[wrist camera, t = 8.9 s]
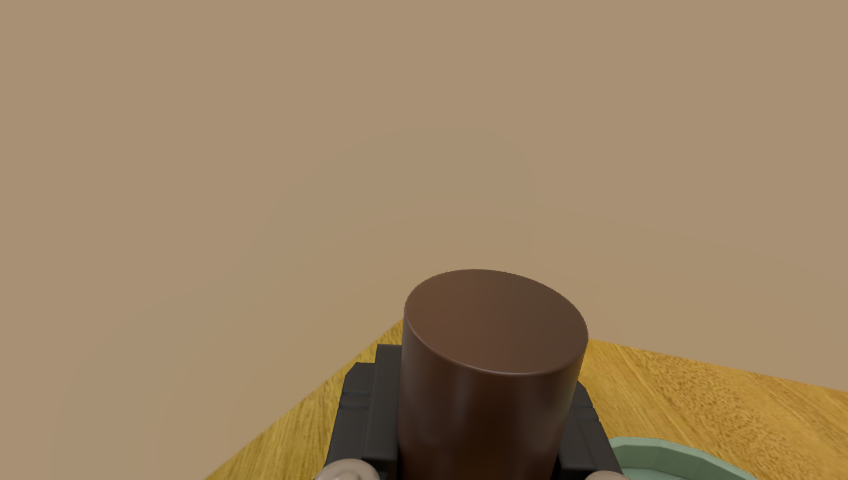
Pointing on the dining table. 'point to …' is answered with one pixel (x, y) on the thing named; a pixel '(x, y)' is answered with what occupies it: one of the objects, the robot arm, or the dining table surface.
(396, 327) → the dining table surface
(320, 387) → the dining table surface
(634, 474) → the bowl
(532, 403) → the pestle
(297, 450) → the dining table surface
